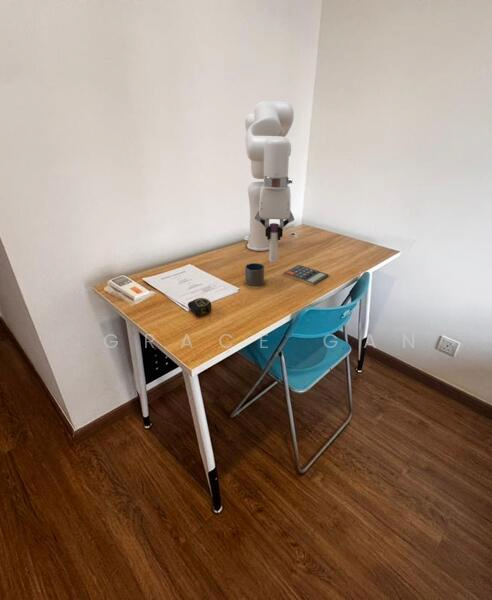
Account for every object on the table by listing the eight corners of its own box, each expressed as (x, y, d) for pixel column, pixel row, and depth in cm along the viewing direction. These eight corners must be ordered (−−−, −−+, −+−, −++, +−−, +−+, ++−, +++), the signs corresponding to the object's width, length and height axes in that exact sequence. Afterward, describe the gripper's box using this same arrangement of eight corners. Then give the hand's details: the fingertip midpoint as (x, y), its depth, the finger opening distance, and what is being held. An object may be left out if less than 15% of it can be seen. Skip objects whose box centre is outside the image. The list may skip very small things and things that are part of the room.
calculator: (298, 264, 143) (328, 273, 135) (298, 266, 143) (328, 275, 135) (283, 272, 135) (313, 283, 127) (283, 274, 135) (313, 285, 127)
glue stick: (267, 261, 113) (268, 224, 107) (271, 258, 115) (272, 222, 109) (274, 263, 112) (275, 226, 105) (279, 260, 114) (280, 224, 107)
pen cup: (241, 285, 126) (241, 267, 122) (252, 278, 131) (252, 261, 128) (257, 290, 123) (257, 272, 119) (267, 283, 128) (267, 265, 124)
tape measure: (187, 310, 109) (186, 300, 107) (206, 304, 112) (205, 295, 110) (195, 319, 104) (194, 309, 102) (215, 313, 107) (214, 303, 105)
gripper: (301, 181, 104) (297, 236, 113) (250, 179, 104) (251, 234, 113) (302, 185, 97) (298, 243, 106) (248, 183, 97) (248, 241, 106)
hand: (273, 238), depth 109 cm, fingers closed on glue stick, 3 cm apart
